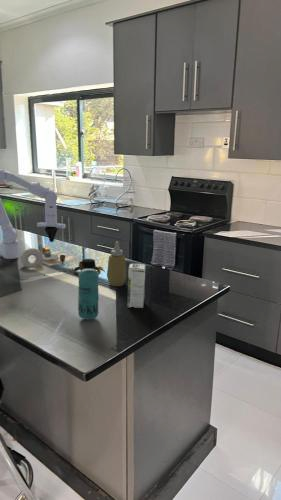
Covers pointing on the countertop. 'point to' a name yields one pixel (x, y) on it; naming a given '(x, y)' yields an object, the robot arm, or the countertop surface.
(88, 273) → the beverage bottle
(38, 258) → the donut
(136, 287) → the syrup box
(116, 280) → the squeeze bottle
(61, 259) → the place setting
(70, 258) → the board
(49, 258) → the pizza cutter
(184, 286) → the countertop surface
